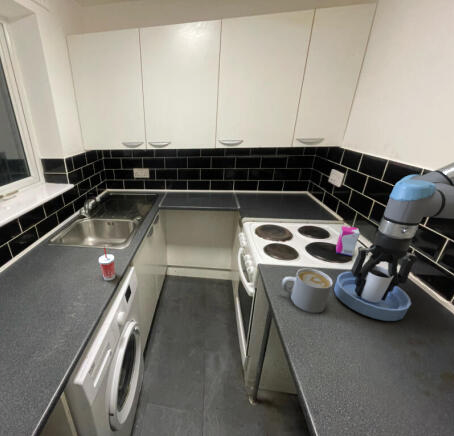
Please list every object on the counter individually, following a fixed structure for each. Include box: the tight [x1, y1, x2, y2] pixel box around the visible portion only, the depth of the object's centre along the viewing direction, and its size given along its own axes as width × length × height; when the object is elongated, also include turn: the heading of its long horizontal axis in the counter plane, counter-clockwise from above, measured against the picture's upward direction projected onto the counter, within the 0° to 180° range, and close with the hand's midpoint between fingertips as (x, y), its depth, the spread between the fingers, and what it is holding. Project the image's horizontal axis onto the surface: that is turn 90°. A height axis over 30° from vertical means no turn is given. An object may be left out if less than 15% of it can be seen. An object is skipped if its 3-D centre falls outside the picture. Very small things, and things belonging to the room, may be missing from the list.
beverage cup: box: [98, 247, 116, 282], centre depth 91 cm, size 6×6×14 cm
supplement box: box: [335, 225, 361, 257], centre depth 101 cm, size 6×6×12 cm
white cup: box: [360, 265, 394, 303], centre depth 74 cm, size 7×7×10 cm
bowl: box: [333, 271, 412, 322], centre depth 76 cm, size 18×18×5 cm
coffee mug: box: [281, 267, 334, 314], centre depth 76 cm, size 13×10×10 cm
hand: (369, 295), depth 76 cm, fingers closed on white cup, 6 cm apart
